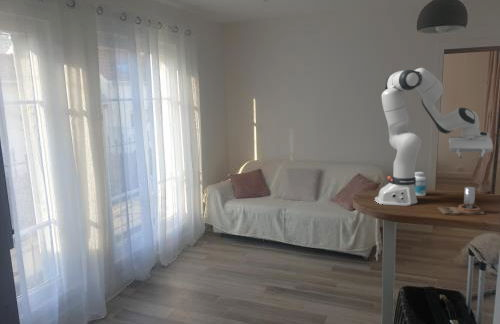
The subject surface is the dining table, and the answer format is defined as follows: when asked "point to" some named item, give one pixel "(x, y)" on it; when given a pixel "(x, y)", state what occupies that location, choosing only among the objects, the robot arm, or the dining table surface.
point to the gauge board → (460, 210)
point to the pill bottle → (420, 184)
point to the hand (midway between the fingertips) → (470, 157)
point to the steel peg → (469, 197)
